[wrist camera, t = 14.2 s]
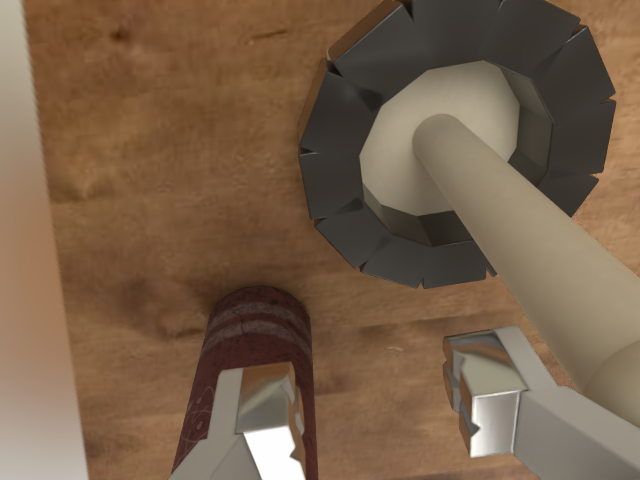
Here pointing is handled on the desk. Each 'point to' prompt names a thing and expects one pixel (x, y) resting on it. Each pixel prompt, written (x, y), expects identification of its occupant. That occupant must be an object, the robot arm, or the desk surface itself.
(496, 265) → the stand
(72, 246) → the desk surface
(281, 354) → the can
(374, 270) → the ring
